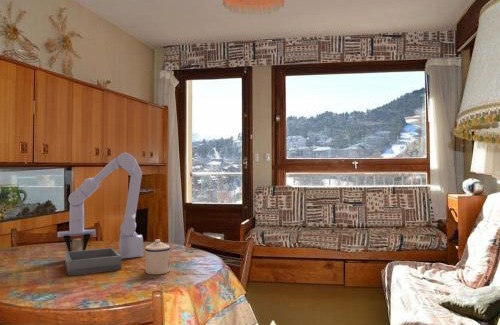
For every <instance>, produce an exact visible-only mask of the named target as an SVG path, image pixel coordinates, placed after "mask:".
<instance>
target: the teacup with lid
mask: <svg viewBox="0 0 500 325" xmlns="http://www.w3.org/2000/svg"><path fill="white" fill-rule="evenodd" d="M170 250H171V246H170V245H169V244H166V243H164V242H161V239H159V238H158V239H155V240H154V242H152V243H151V244H149V245H148V244H147V245H146V246H145V247H144V251H145V274H148V275H163V274H168V273H169V272H170V271H171V270H170V268H171V266H170V265H171V258H170V257H171V256H170V254H171V253H170V252H171V251H170Z"/></svg>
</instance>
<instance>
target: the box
mask: <svg viewBox="0 0 500 325" xmlns="http://www.w3.org/2000/svg"><path fill="white" fill-rule="evenodd" d="M64 253H65V254H64V256H65V257H64V259H65V260H64V264H65V268H66V271H67V274H68V276H76V275H85V274H86V275H87V274H93V273H95V274H96V273H101V272H102V273H103V272H110V271H120V270H122V259H121V255H120V252H118V251H117V250H116V249H115V248H114V247H105V248H97V249H96V248H95V249H86V250H82V251H71V252H68V251H65V252H64Z"/></svg>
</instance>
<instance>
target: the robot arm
mask: <svg viewBox="0 0 500 325" xmlns="http://www.w3.org/2000/svg"><path fill="white" fill-rule="evenodd" d="M137 161H138V160H136V158H135V157H134V156H133V155H132V154H130V153H129V152H122V153H120V154H119V155H118V156H116V157H115V158H113V159H111V160H110V161H109V162H108V163H107V164H106V165H105V166H104V167H103V168H101V170H100V171H99V172H98V173H97V174H96V175H95V176H94V177H88V178H85V179H84V180H83V183H82V184H80V185H79V186H78V187H76V188H75V189H74V191H73V192H70V194H69V196H68V199H67V200H68V202H69V210H68V211H69V219H68V220H69V224H68V225H69V226H68V227H69V230H65V231H57V238H63V239H64V242H65V244H66V246H67V252H71V240H72V239H71V237H76V236H82V239H83V250H87V247H88V246H87V245H88V243H89V241H90V238H91V235H97V234H96V229H95V228H94V229H85V202H86V199H89V197H91V195H92V194H94V193H95V192H96V191H97V190H98V189H99V187H100V183H101V182H102V181H103V180H104V179H105V178H106V177H107V176H109V175H110V174H111V173H112V172H113V171H115V170H119V169H121V168H123V169H124V170H125V171H126V172H127V173H128V175H129V176H130V178H129V186H128V191H127V192H128V193H127V198H126V204H125V210H124V211H125V212H124V216H123V220H122V222H121V224H120V226H119V231H120V234H119V254H120V255H121V260H123V259H131V258H132V259H133V258H137V257H138V258H140V257H142V258H143V257H144V238H143V234H138V233H137V232H136V229H137V222H136V217H137V209H138V202H139V195H140V188H141V183H142V178H143V171H142V169H141V167H140V165H139V164H138V162H137Z"/></svg>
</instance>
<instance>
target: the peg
mask: <svg viewBox="0 0 500 325" xmlns="http://www.w3.org/2000/svg"><path fill="white" fill-rule="evenodd" d="M70 248H71V251H82V250H83V238H73V239H71V242H70Z"/></svg>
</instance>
